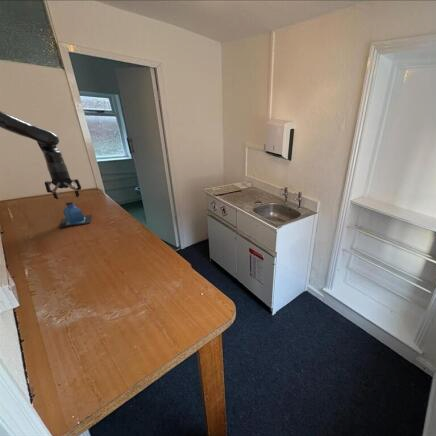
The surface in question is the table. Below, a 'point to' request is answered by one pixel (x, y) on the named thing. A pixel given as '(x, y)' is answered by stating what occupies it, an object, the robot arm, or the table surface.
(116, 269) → the table surface
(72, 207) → the perfume bottle
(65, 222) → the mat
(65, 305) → the table surface
